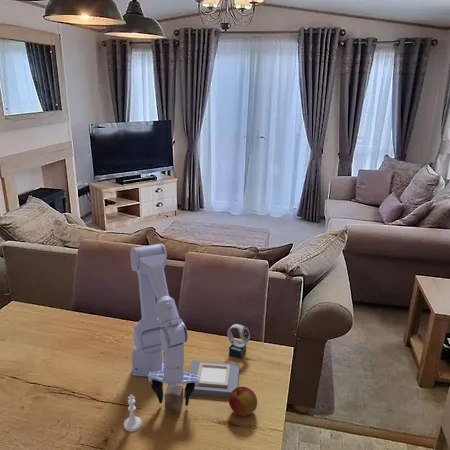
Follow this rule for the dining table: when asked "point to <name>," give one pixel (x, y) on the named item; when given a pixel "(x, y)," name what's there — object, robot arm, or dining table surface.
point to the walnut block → (174, 399)
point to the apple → (243, 401)
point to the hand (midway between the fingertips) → (174, 402)
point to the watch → (237, 346)
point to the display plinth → (215, 378)
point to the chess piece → (132, 416)
